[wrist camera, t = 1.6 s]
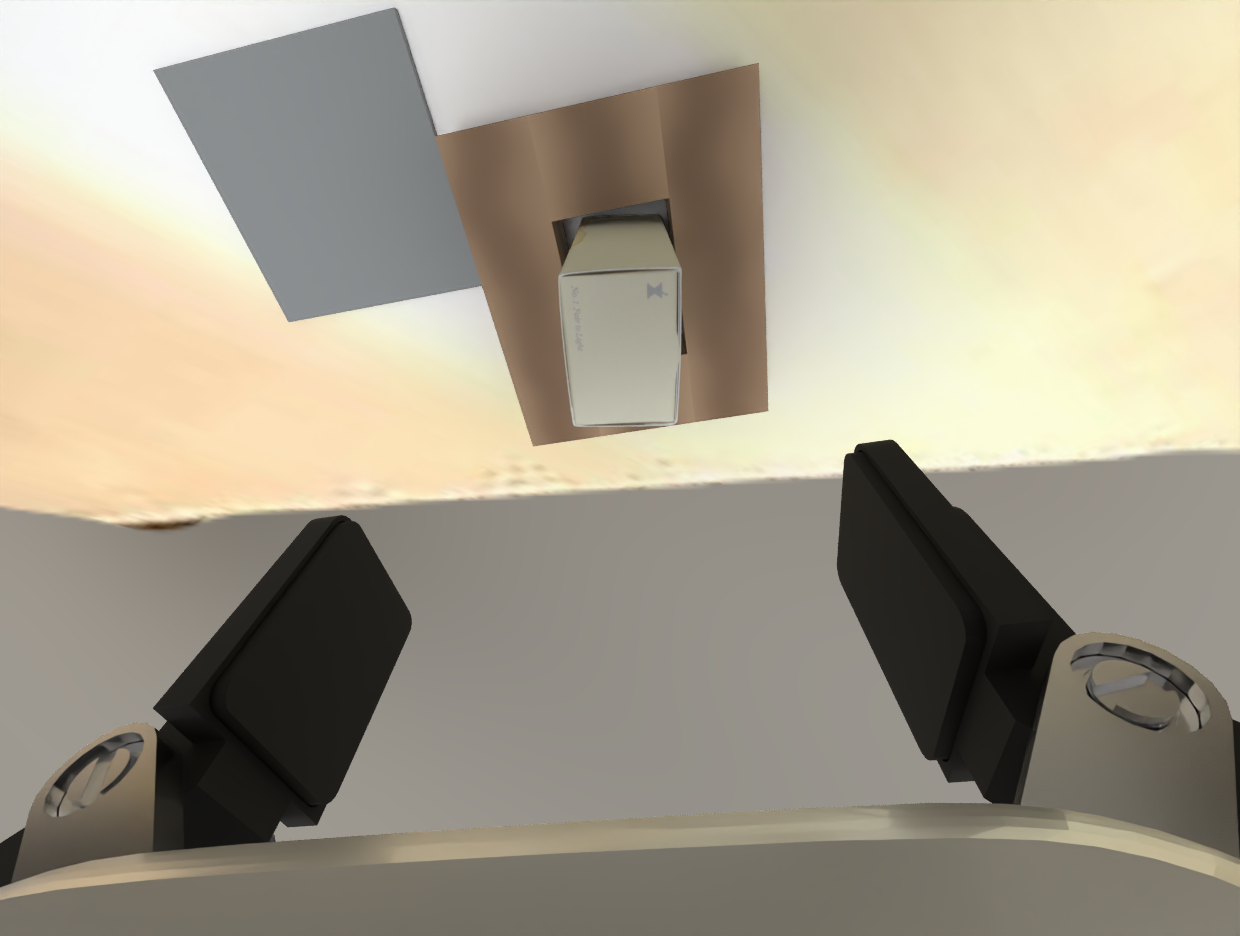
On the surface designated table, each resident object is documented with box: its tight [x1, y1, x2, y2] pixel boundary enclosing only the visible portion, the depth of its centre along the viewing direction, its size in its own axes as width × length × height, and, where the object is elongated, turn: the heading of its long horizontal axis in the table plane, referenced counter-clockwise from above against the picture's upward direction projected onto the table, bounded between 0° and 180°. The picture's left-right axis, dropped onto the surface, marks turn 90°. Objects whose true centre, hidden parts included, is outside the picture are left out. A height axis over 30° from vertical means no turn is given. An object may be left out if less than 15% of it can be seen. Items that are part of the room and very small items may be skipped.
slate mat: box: [153, 8, 482, 322], centre depth 26 cm, size 12×12×1 cm
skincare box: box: [558, 214, 682, 427], centre depth 24 cm, size 6×4×12 cm
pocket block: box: [435, 63, 768, 446], centre depth 27 cm, size 14×16×4 cm
